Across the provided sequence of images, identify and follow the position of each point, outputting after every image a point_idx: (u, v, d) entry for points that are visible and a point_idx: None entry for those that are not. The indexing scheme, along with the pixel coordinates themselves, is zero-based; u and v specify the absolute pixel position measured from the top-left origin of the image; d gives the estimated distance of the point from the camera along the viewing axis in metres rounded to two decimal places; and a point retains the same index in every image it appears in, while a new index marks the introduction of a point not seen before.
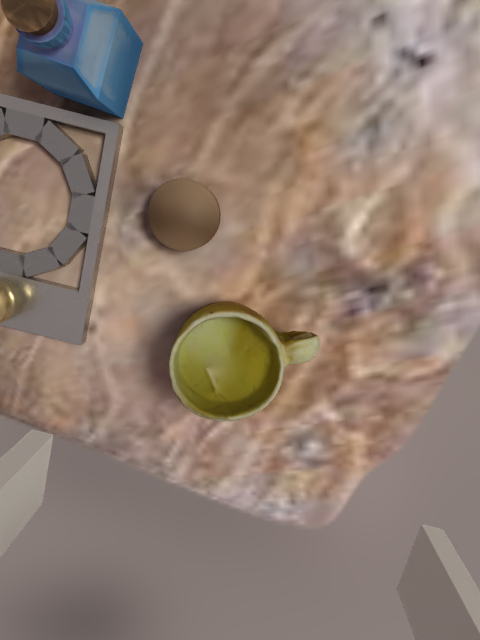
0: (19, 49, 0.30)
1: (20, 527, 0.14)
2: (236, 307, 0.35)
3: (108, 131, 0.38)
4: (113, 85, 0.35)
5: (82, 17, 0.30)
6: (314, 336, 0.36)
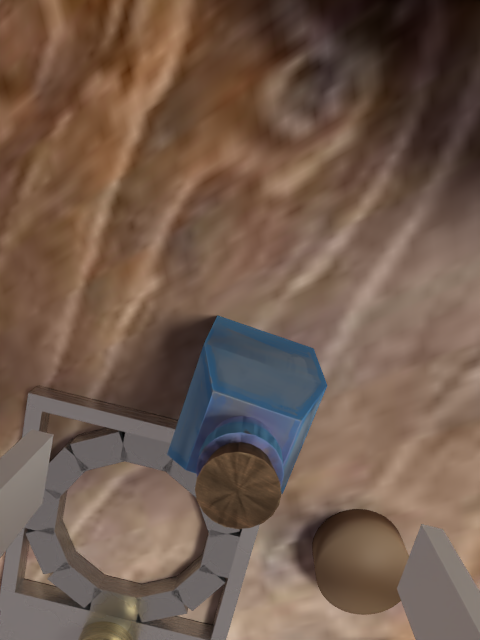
0: (188, 470, 0.20)
1: (20, 527, 0.14)
2: None
3: None
4: None
5: (289, 437, 0.19)
6: None
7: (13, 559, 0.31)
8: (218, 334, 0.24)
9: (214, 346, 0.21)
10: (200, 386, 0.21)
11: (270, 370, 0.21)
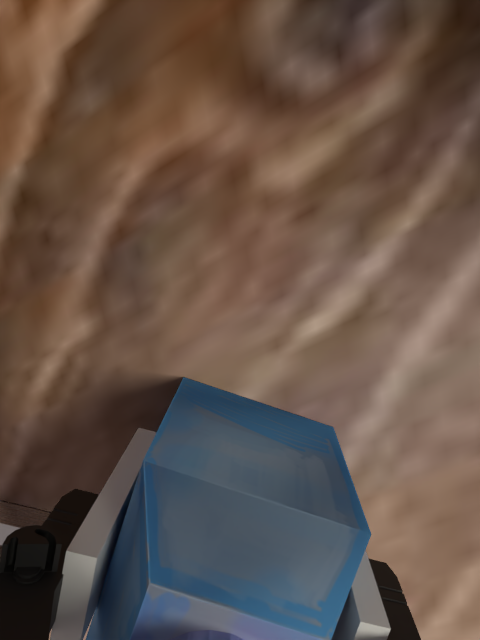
0: None
1: None
2: None
3: None
4: None
5: None
6: None
7: None
8: (178, 424, 0.14)
9: (163, 465, 0.12)
10: (132, 549, 0.11)
11: (265, 511, 0.11)
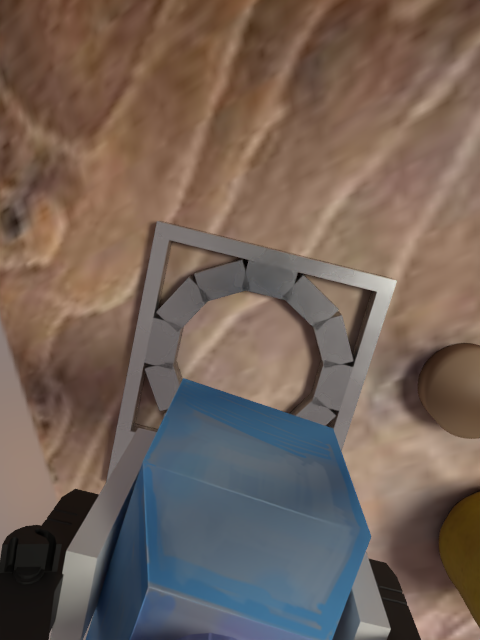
0: None
1: None
2: None
3: (380, 289, 0.29)
4: None
5: None
6: None
7: (131, 396, 0.32)
8: (177, 426, 0.14)
9: (163, 467, 0.11)
10: (131, 552, 0.11)
11: (265, 514, 0.11)
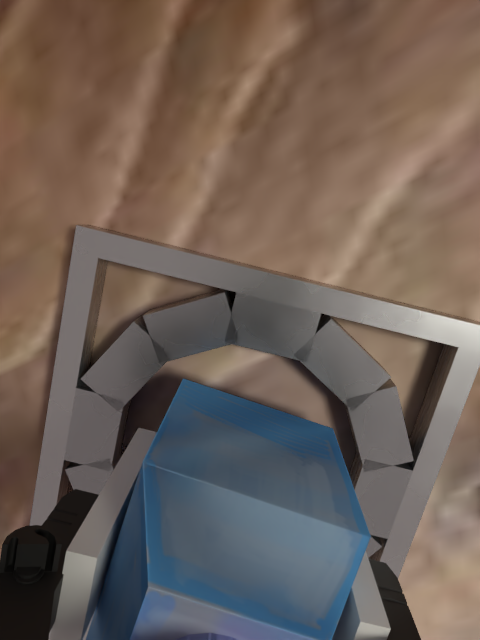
0: None
1: None
2: None
3: (464, 343, 0.17)
4: None
5: None
6: None
7: (45, 512, 0.19)
8: (177, 426, 0.14)
9: (162, 467, 0.12)
10: (131, 552, 0.11)
11: (265, 514, 0.11)
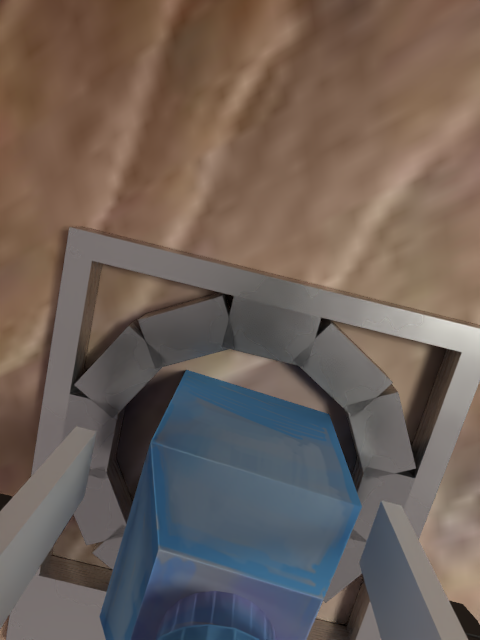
0: None
1: (68, 518, 0.15)
2: None
3: (468, 348, 0.17)
4: None
5: (302, 626, 0.11)
6: None
7: None
8: (181, 411, 0.15)
9: (169, 446, 0.13)
10: (142, 523, 0.12)
11: (264, 487, 0.12)
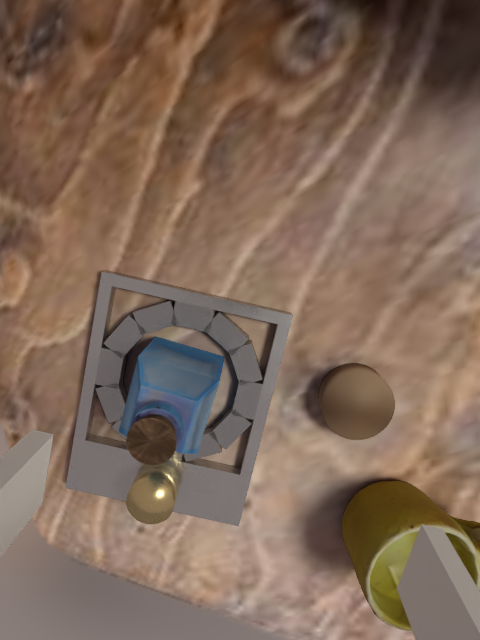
0: None
1: (20, 527, 0.14)
2: (431, 515, 0.34)
3: (280, 322, 0.37)
4: None
5: (191, 412, 0.31)
6: None
7: (85, 411, 0.39)
8: (151, 349, 0.35)
9: (145, 358, 0.33)
10: (135, 383, 0.32)
11: (181, 371, 0.33)
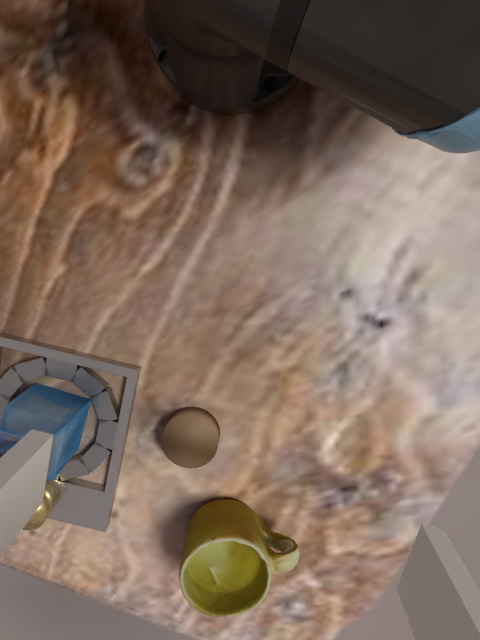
0: None
1: (20, 527, 0.14)
2: (233, 530, 0.44)
3: (128, 375, 0.47)
4: (66, 454, 0.46)
5: None
6: (295, 549, 0.45)
7: None
8: (22, 397, 0.45)
9: (10, 406, 0.43)
10: None
11: (36, 418, 0.43)
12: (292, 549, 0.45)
